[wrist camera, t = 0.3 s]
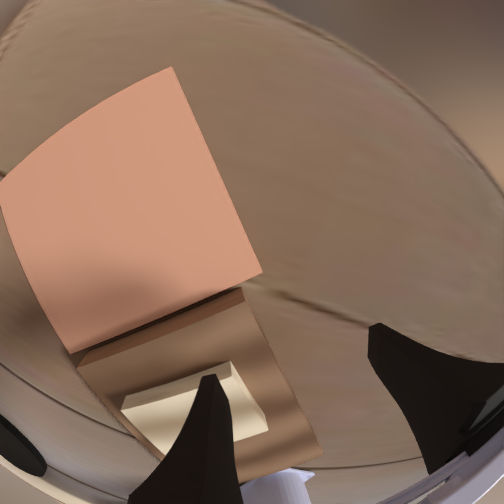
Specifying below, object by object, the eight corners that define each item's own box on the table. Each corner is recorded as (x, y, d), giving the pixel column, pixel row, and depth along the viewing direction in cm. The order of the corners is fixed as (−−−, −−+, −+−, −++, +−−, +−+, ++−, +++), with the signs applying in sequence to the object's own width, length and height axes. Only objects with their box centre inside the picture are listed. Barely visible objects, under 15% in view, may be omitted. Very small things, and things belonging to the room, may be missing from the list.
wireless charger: (65, 476, 25) (62, 484, 23) (12, 460, 24) (9, 466, 22) (4, 405, 21) (-2, 412, 19) (-38, 395, 20) (-43, 400, 18)
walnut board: (316, 437, 27) (324, 454, 24) (200, 473, 26) (200, 490, 23) (241, 287, 21) (245, 301, 19) (87, 351, 21) (75, 368, 18)
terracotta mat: (262, 271, 21) (262, 272, 21) (71, 352, 21) (70, 354, 20) (172, 68, 17) (171, 66, 17) (-2, 186, 17) (-5, 186, 16)
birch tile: (264, 414, 21) (268, 430, 19) (169, 442, 21) (167, 457, 19) (230, 360, 19) (231, 376, 17) (126, 395, 19) (120, 410, 17)
